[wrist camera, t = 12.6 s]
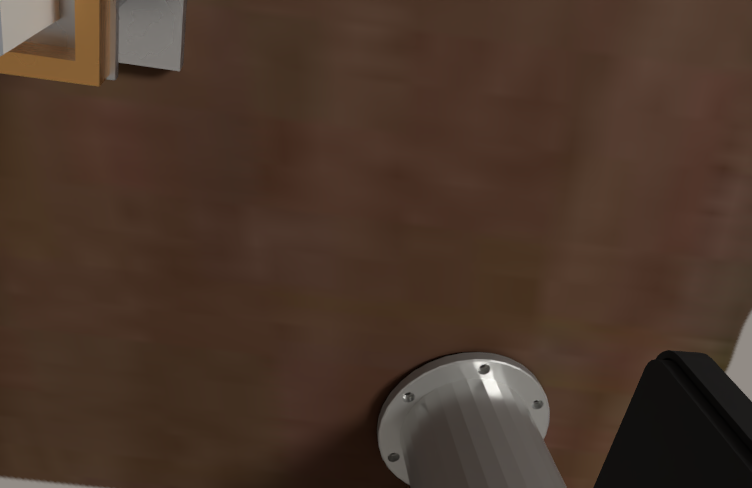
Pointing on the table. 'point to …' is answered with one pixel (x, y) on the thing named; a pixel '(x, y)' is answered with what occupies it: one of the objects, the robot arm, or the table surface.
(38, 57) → the grey and orange container
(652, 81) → the table surface
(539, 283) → the table surface
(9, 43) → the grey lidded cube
